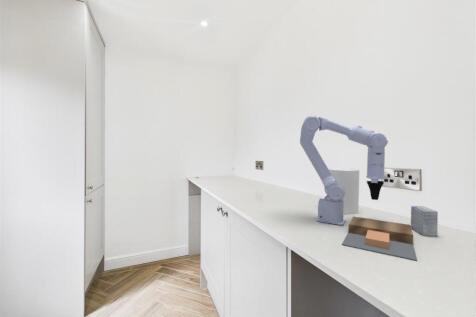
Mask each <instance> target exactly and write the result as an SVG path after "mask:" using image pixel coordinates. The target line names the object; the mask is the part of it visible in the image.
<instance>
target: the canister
mask: <svg viewBox="0 0 476 317" xmlns="http://www.w3.org/2000/svg"><path fill="white" fill-rule="evenodd" d="M328 169H329V171H330V173H331V174H332V176H333V177H334V179H335V180H336V182H337V183H338V185H340V186H341V187H343V189H344V191H345V195H344V197H343V198H342V199H344V210H343V215H356V214H359V206H360V205H359V204H360V203H359V201H360V196H359V195H360V169H355V168H354V169H353V168H328Z"/></svg>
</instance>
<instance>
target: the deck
mask: <svg viewBox="0 0 476 317" xmlns="http://www.w3.org/2000/svg"><path fill="white" fill-rule="evenodd" d="M347 227H348V228H347V229H348V232H347V234H348V233H352V234H358V235H363V236H366V234H367V231H368V230H372V231H378V232H384V233H389V240H390V241H396V242H401V243H407V244H412V245H413V246H414V234H413V229H411V224H408V223H407V224H406V223H400V222H393V221H387V220H381V219H380V220H379V219H372V218H366V217H359V216H352V218H351V219H350V221H349V222H348V226H347Z"/></svg>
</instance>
